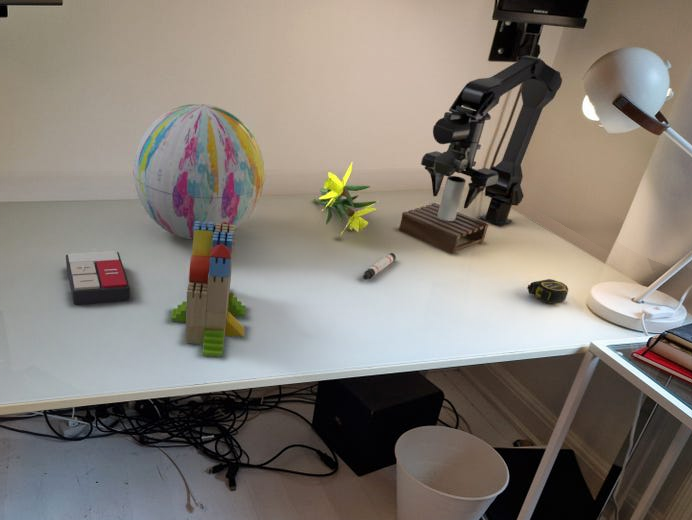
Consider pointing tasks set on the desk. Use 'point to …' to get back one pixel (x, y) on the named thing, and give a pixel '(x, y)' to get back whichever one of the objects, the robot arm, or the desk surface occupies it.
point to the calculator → (97, 277)
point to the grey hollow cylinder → (451, 198)
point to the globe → (198, 169)
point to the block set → (211, 290)
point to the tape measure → (549, 290)
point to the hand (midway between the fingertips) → (449, 202)
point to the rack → (442, 228)
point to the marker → (379, 266)
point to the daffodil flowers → (344, 200)
